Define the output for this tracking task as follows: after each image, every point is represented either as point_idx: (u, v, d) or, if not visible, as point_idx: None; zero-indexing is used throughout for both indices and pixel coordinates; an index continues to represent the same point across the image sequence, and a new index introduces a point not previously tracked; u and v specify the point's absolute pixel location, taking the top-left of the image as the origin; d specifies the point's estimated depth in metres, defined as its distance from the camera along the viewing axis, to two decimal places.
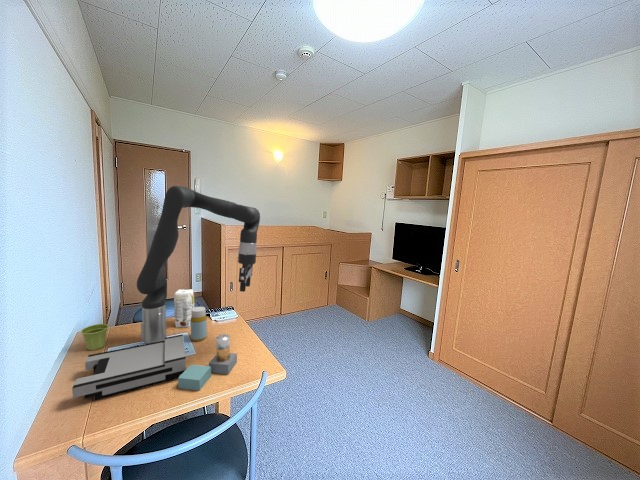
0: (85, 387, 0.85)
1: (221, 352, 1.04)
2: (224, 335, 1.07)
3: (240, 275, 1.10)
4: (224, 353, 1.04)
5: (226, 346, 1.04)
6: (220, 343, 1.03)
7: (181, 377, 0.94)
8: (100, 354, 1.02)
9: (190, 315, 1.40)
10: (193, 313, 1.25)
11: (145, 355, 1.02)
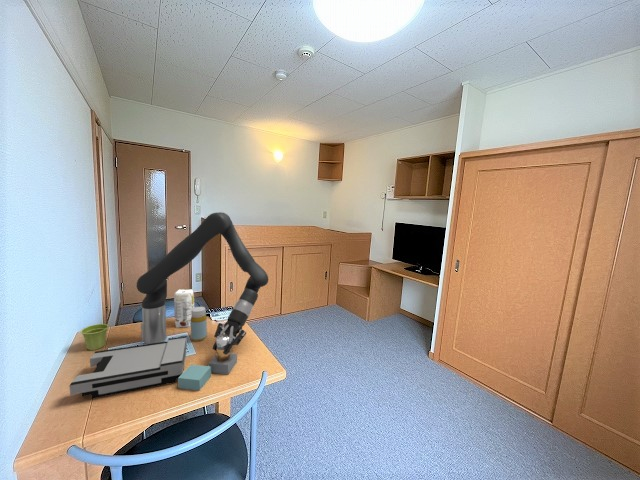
0: (82, 385, 0.86)
1: (221, 352, 1.04)
2: (224, 335, 1.07)
3: (239, 337, 1.05)
4: None
5: None
6: (220, 343, 1.03)
7: (181, 377, 0.94)
8: (106, 351, 1.04)
9: (190, 315, 1.40)
10: (193, 313, 1.25)
11: (146, 355, 1.02)
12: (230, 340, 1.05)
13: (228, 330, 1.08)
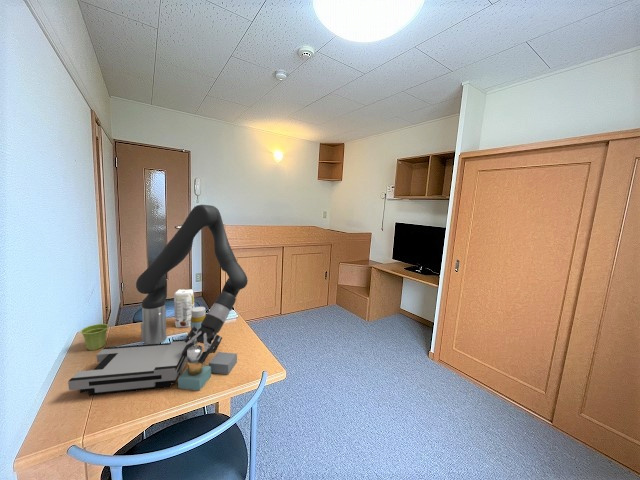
0: (80, 382, 0.87)
1: (192, 366, 0.95)
2: (196, 347, 0.97)
3: (215, 343, 0.96)
4: (195, 367, 0.95)
5: (198, 359, 0.95)
6: (191, 356, 0.94)
7: (181, 377, 0.94)
8: (113, 348, 1.06)
9: (190, 315, 1.40)
10: (193, 313, 1.25)
11: (147, 356, 1.01)
12: (206, 347, 0.95)
13: (200, 338, 0.99)
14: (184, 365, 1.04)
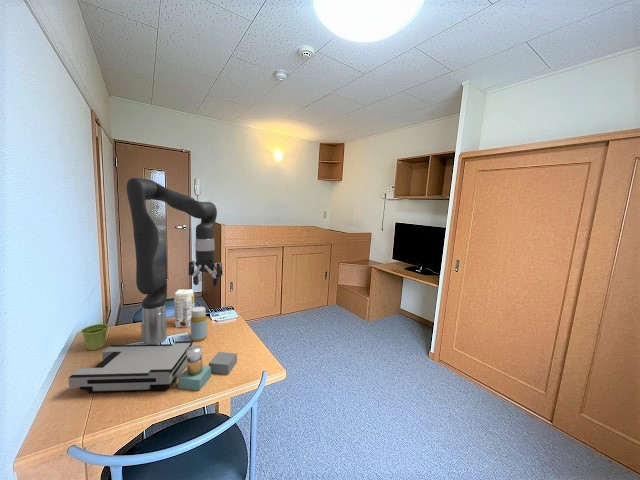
0: (79, 379, 0.88)
1: (192, 366, 0.95)
2: (196, 346, 0.98)
3: (220, 270, 1.13)
4: (195, 366, 0.95)
5: (198, 359, 0.95)
6: (190, 356, 0.94)
7: (181, 377, 0.94)
8: (119, 346, 1.07)
9: (190, 315, 1.40)
10: (193, 313, 1.25)
11: (147, 357, 1.01)
12: (213, 275, 1.13)
13: (202, 269, 1.13)
14: (183, 368, 1.02)
